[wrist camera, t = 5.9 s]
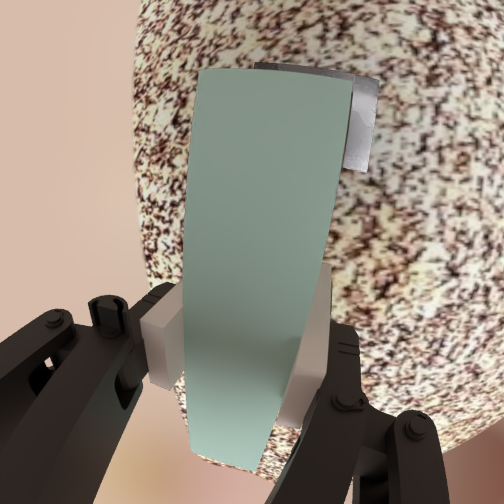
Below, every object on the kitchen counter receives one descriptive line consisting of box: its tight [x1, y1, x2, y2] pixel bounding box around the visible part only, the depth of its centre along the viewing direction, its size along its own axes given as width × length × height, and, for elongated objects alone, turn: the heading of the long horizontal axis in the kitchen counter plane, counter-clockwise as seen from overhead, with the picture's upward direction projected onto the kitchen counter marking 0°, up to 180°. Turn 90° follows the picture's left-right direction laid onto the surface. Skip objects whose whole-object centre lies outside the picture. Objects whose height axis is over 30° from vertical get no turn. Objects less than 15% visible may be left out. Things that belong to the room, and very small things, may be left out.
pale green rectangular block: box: [182, 68, 353, 471], centre depth 11 cm, size 16×4×6 cm, turn 173°
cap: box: [254, 62, 379, 173], centre depth 17 cm, size 6×8×5 cm
